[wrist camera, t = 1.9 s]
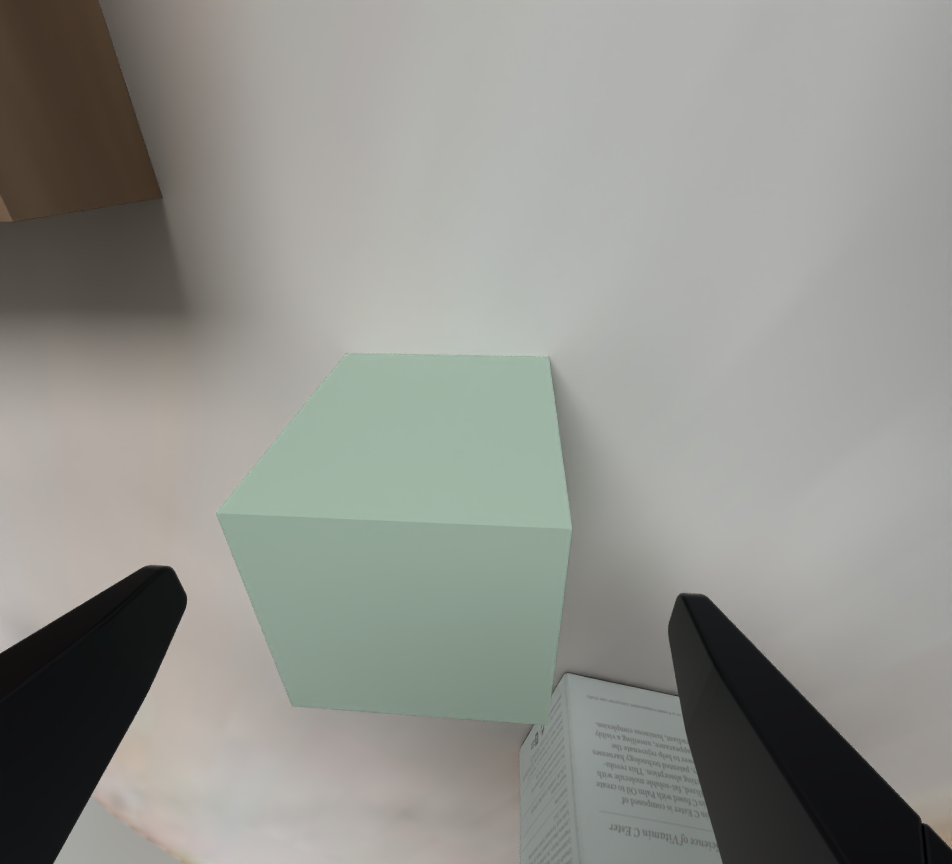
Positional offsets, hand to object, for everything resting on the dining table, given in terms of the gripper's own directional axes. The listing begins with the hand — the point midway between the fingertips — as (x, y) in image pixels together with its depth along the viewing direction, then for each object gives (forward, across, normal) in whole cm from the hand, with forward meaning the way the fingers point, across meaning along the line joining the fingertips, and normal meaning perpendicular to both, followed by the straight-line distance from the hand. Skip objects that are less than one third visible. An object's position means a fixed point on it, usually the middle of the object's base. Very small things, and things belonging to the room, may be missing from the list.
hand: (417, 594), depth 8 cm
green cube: (+5, 0, 0) cm, 5 cm away
